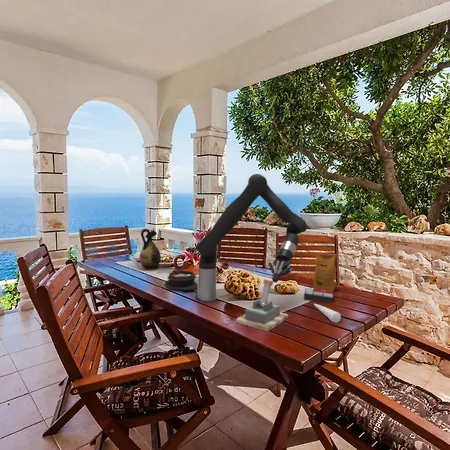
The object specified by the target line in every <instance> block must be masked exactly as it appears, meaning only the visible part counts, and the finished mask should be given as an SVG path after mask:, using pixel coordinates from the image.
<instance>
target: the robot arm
mask: <svg viewBox="0 0 450 450" xmlns="http://www.w3.org/2000/svg"><path fill="white" fill-rule="evenodd" d="M259 197H261V198H262V200H264V201H265V202H266V204H267V205H268V206H269V207H270V209H271V210H272V211H273V212H274V213H275V215H276V216H277V217H278V218H279V220H280V221H282V222H283V223H289V224H288V225H287V227H286V232H285V237H284V239H283V242H282V244H281V246H280V248H279V250H278V252H277V255H276V256H275V257H276V258H275V259H274V260H273V262H269V263H268V265H269V269H270V272H271V273H272V278H271V281H272V282H273V283H278V282H279V280H280V277H285V276H286V275H288V274H289V273H291V272H292V271H294V268H293V265H291V263H292V260H293V257H294V256H295V254H296V250H297V247H298V245H299V241H300V238H299V236H298V235H299V234H301V233H305V232H306V231H307V230H308V229H307V228H308V224H307V222H306V221H305V219H303V218H302V216H301V217H300V216H299V215H298V214H296V213H295V212H293V210H292V209H291V208H289V207H288V205H287V204H286V203H285V202H284V201H283V200H282V199H281V198H280V197H279V196H278V195H277V194H276V193H275V192H274V191H273V190H272V188H271V187H270V186H269V184H268V180H267V179H266V177H265V176H264V175H262V174H260V173H254V174H251V176H249V178H248V180H247V185H246V186H245V188H244V189H243V191H242V192H241V193H240V194H239V195H238V196H237V197H236V198H235V199H234V200H233V201H231V203H230V204H228V206H227V207H226V208H225V210H224V211H223V212H222V214H221V215H220V216H219V217H218V219H217V221H216V222H215V223H214V225H213V226H212V228H211V230H210V231H209V232H208V233H207V234H206V235H205V236H204V237H203V238H202V239H201V240H200V241H199V243H198V244H197V251H198V253H199V262H198V281H196V282H197V288H196V290H197V294H196V295H197V299H198V300H200V301H201V302H214V301H215V300H216V299H217V262H218V245H219V244H220V242H221V241H222V240H223V239H224V237H225V236H227V235H228V234H229V233H230V232H231V231H232V230H233V229H234V228H235V227H236V226H237V224H238V223H239V222H240V220H241V219H242V218H243V217H244V215H245V214H246V213H247V211H248V210H249V208H250V207H251V205H252V204H253V203H254V201H256V200H257V198H259Z"/></svg>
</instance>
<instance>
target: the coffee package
mask: <svg viewBox="0 0 450 450" xmlns="http://www.w3.org/2000/svg"><path fill="white" fill-rule="evenodd" d="M336 255H337V254H336V253H330V254H328V253H322V252H317V253H316V258H315V259H316V262H315V267H314V277H313V287H312V289H321V290H327V291H333V292H334V291H335V289H336V286H335V277H336Z"/></svg>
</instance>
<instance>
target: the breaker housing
mask: <svg viewBox="0 0 450 450" xmlns="http://www.w3.org/2000/svg"><path fill="white" fill-rule="evenodd" d="M260 300H261V298H258V299H256V300H255V301H253V302H252V306H250V307H248V308H246V309H244V314H245V319H247V320H251V321H254V322H258V323H261V324H266V323H268V322H269V321H271V320H272V319H274V318H275V317H277V316H278V315H280V312H281V306H280V305H276V304H274V303H273V302H274V301H273V300H270V301H267V303H266V304H264V307H260V306H258V303H259V302H260Z"/></svg>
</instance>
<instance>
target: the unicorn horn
mask: <svg viewBox="0 0 450 450" xmlns="http://www.w3.org/2000/svg"><path fill="white" fill-rule="evenodd" d="M313 305H314V306H315V308H316V309H317V310H319V312H320V313H322V314H323V315H324V316H325V317H326V318H327V319H329V320H330V322H332V323H335V324H337V323H339V322H340V321H341V319H342V318H341V317H342V315H341V313H339V312H338V311H335V310H333V309H330V308H329V307H325V306H323V305H320V304H317V303H313Z"/></svg>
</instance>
